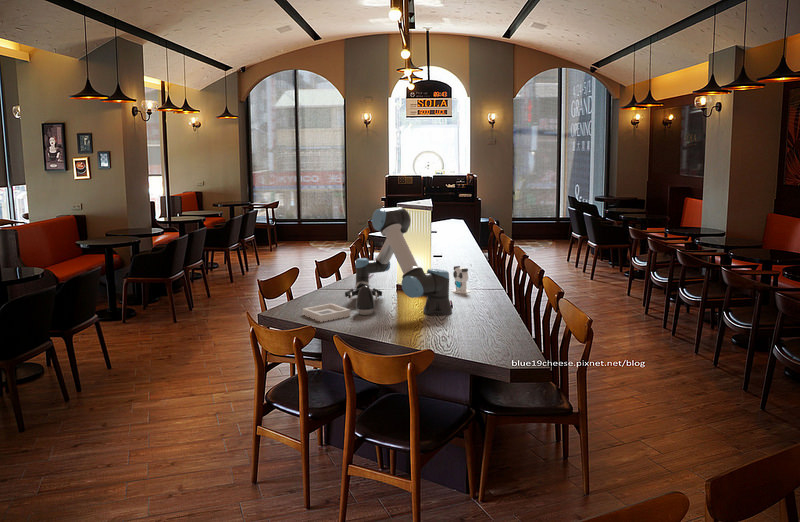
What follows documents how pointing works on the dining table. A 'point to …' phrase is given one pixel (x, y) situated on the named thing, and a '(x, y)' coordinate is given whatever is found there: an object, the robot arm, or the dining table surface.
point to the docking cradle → (326, 312)
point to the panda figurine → (460, 279)
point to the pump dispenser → (365, 301)
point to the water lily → (369, 276)
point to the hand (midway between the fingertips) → (364, 297)
